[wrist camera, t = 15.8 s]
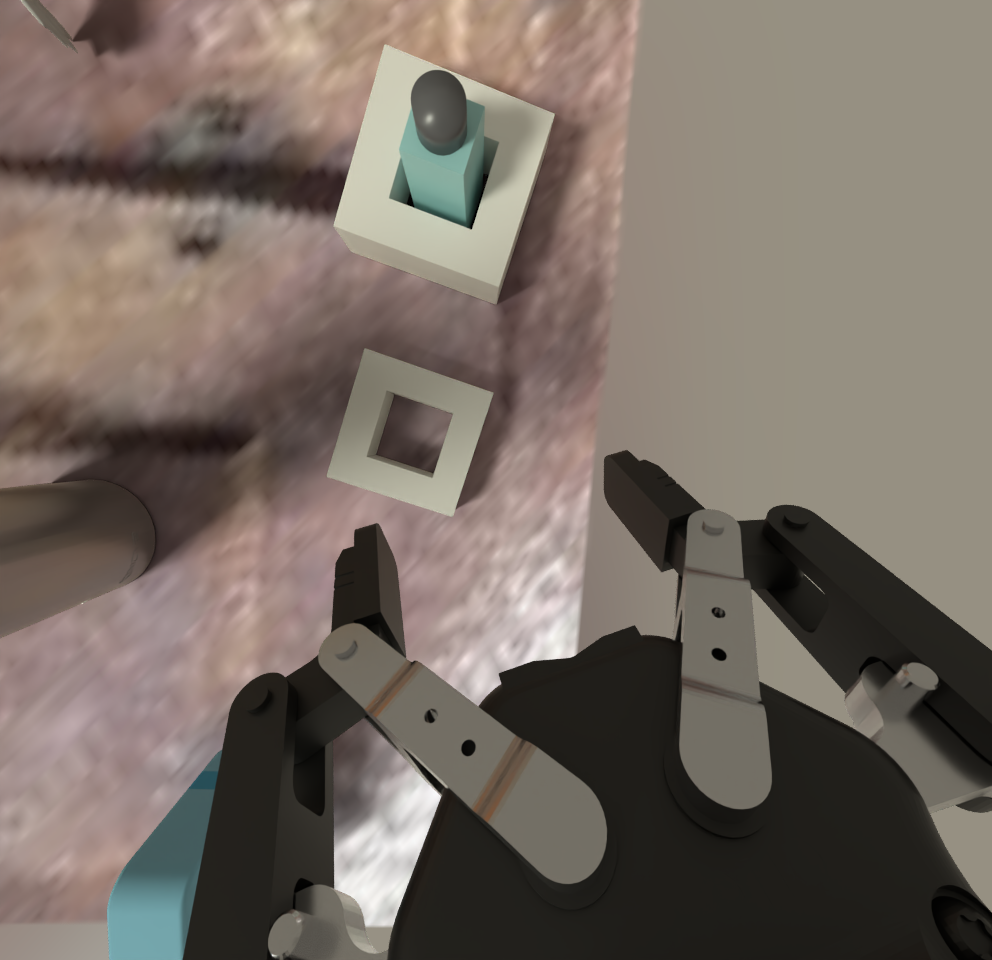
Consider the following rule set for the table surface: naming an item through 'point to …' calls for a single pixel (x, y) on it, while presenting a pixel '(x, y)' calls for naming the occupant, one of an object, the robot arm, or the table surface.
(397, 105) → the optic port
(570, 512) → the table surface
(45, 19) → the fairy figurine
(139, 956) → the data package
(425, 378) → the holster
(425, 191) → the plug
